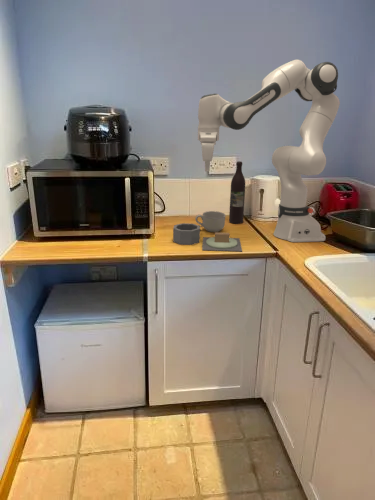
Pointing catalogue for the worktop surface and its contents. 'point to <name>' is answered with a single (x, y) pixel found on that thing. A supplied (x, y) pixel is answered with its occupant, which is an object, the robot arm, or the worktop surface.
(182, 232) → the octagonal grey bowl
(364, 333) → the worktop surface
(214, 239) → the lid
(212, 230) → the teacup
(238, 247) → the mat
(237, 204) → the wine bottle
